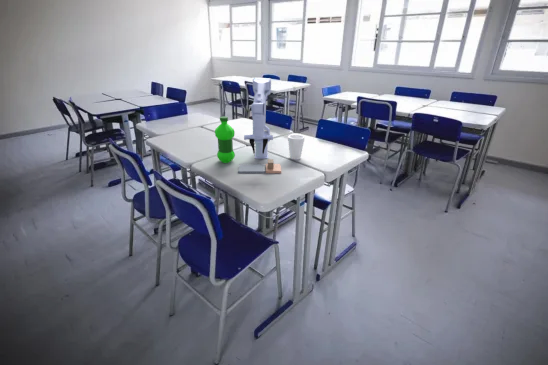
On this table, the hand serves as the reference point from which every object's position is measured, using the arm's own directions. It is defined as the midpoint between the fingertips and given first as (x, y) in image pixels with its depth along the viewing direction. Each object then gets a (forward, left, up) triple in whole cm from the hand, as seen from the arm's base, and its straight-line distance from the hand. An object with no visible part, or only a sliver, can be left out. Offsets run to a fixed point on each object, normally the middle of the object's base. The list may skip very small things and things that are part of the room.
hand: (258, 153), depth 146 cm
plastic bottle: (-12, -18, -10) cm, 24 cm away
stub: (0, +8, -9) cm, 12 cm away
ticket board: (0, -3, -9) cm, 10 cm away
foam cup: (-18, +22, -10) cm, 30 cm away
